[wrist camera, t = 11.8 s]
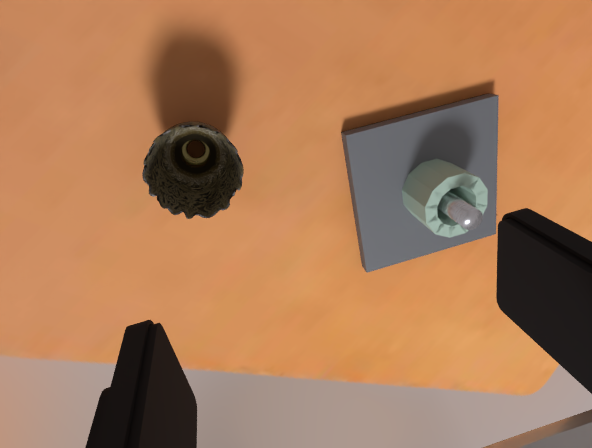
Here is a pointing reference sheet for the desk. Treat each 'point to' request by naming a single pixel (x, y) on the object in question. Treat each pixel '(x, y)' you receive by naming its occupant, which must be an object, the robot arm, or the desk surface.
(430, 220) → the bead
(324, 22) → the desk surface
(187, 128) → the cup
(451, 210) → the rod
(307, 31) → the desk surface
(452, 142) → the board
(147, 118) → the desk surface
